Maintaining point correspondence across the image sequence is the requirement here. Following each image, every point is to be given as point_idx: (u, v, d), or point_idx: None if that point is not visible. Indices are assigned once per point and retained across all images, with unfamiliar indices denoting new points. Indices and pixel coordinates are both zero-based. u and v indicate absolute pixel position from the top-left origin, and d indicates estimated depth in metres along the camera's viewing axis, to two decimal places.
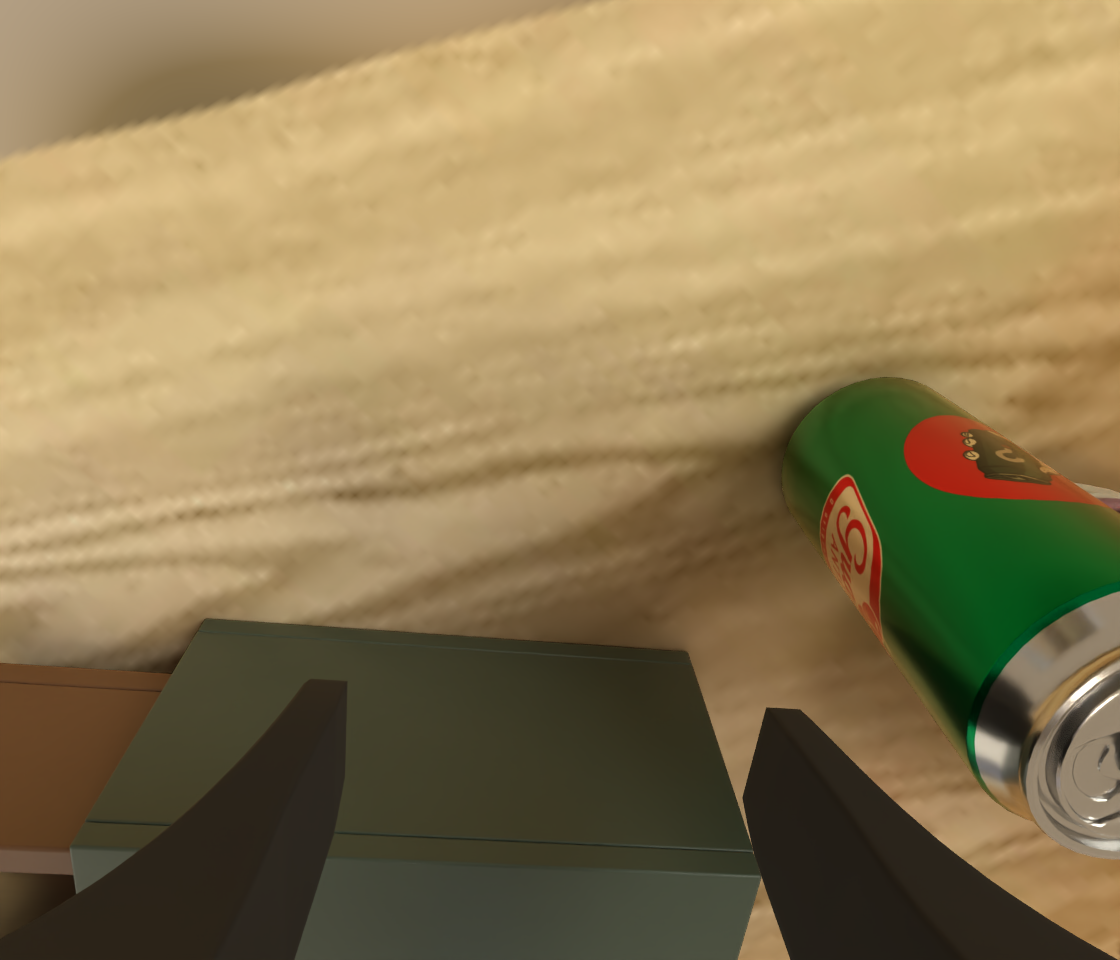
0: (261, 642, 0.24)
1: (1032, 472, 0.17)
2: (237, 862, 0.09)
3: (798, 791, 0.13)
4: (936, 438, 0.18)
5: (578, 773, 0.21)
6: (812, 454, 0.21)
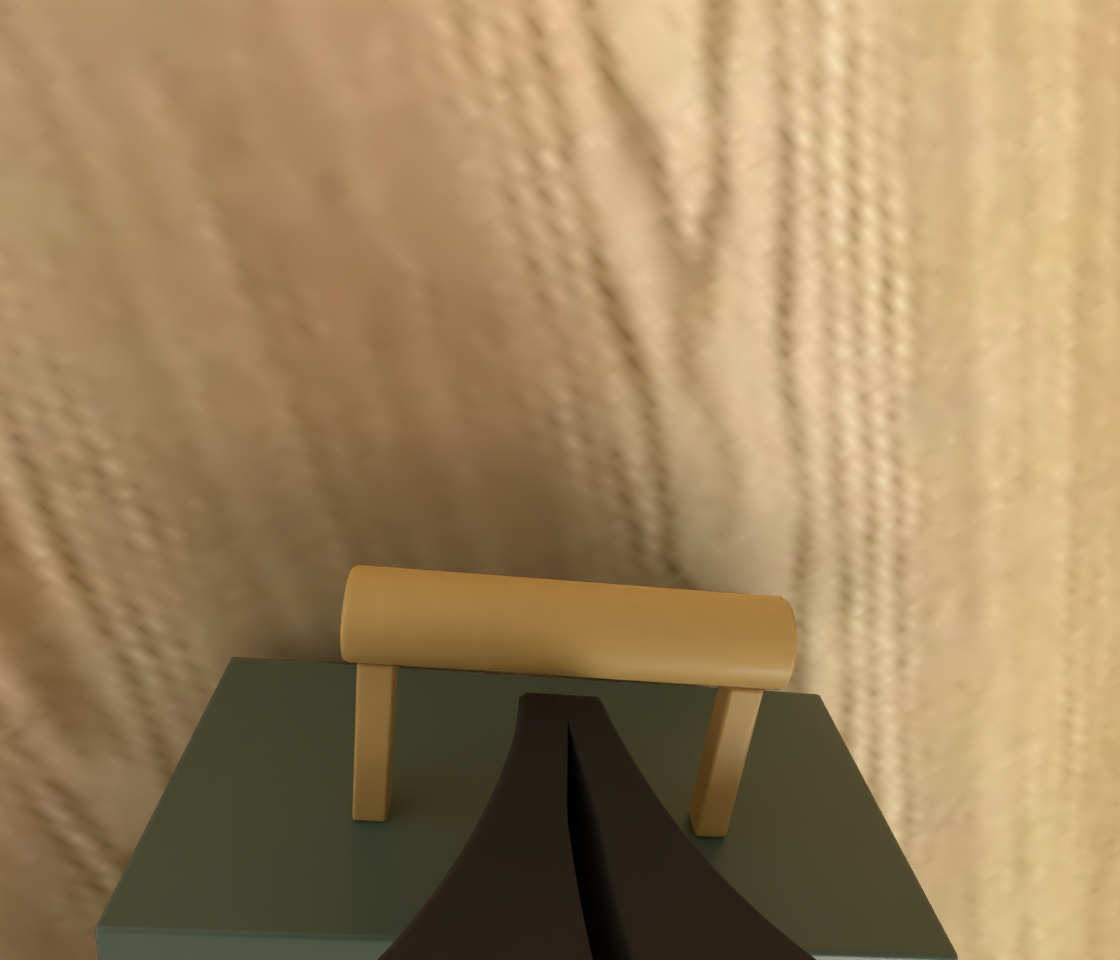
0: None
1: None
2: (554, 875, 0.10)
3: (570, 779, 0.13)
4: None
5: None
6: None
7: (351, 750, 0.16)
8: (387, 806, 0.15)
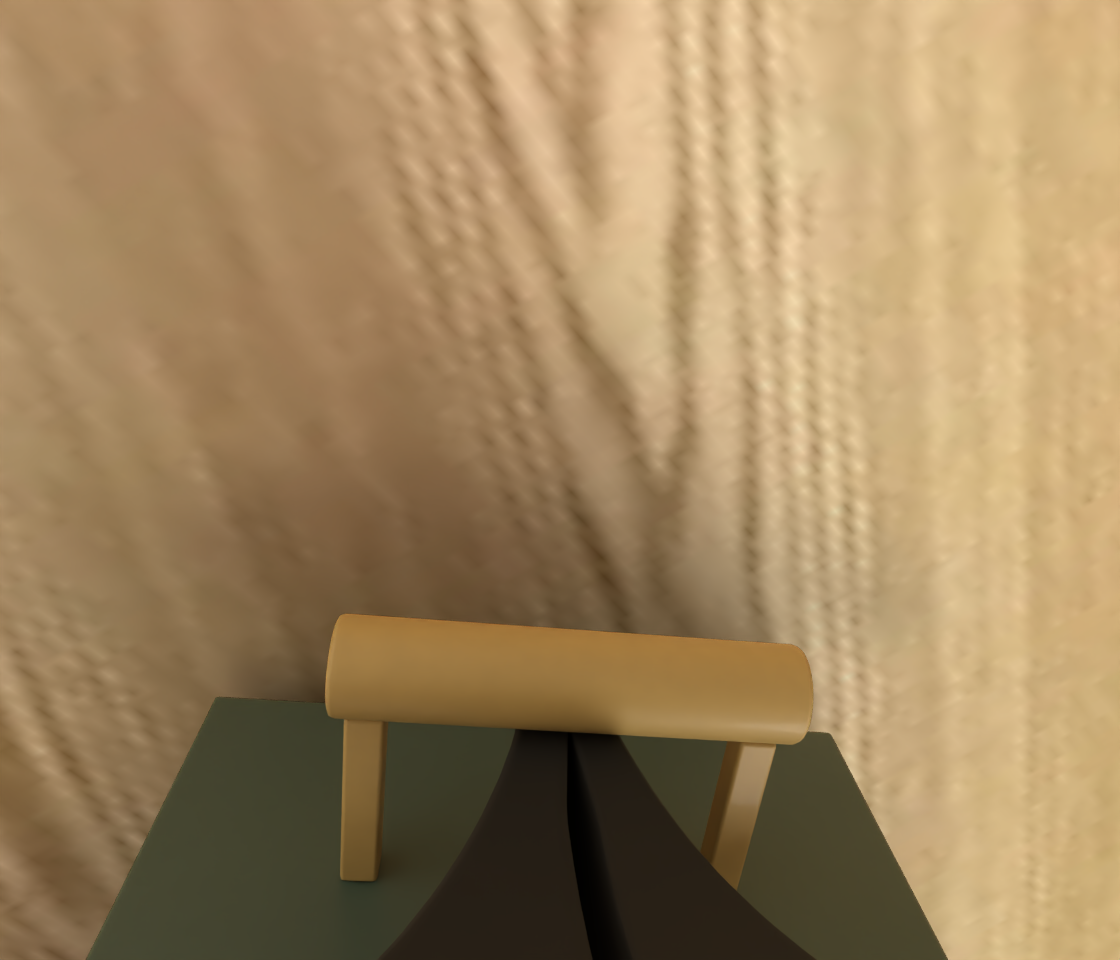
0: None
1: None
2: (554, 876, 0.10)
3: (571, 779, 0.13)
4: None
5: None
6: None
7: (340, 800, 0.15)
8: (377, 865, 0.14)
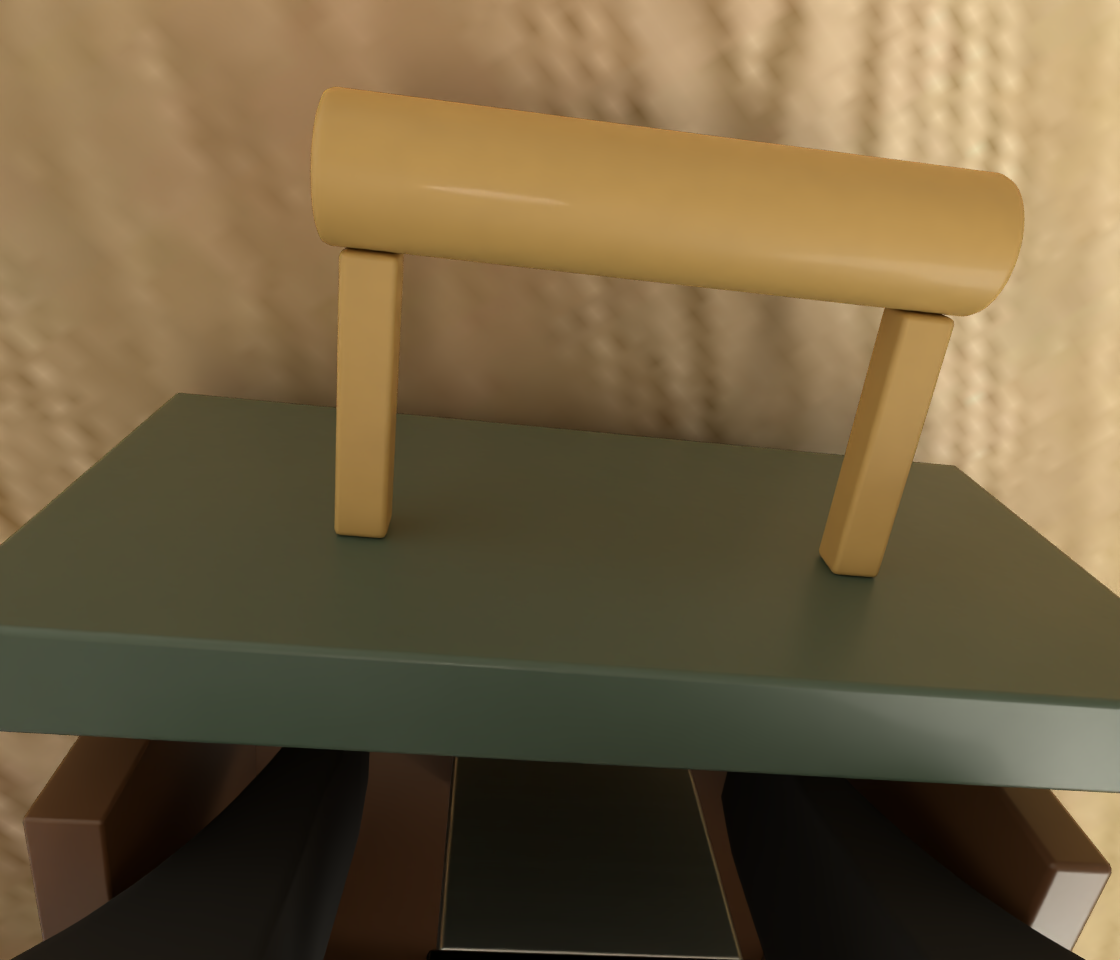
0: None
1: None
2: (274, 863, 0.09)
3: (773, 790, 0.13)
4: None
5: None
6: None
7: (335, 474, 0.11)
8: (386, 513, 0.10)
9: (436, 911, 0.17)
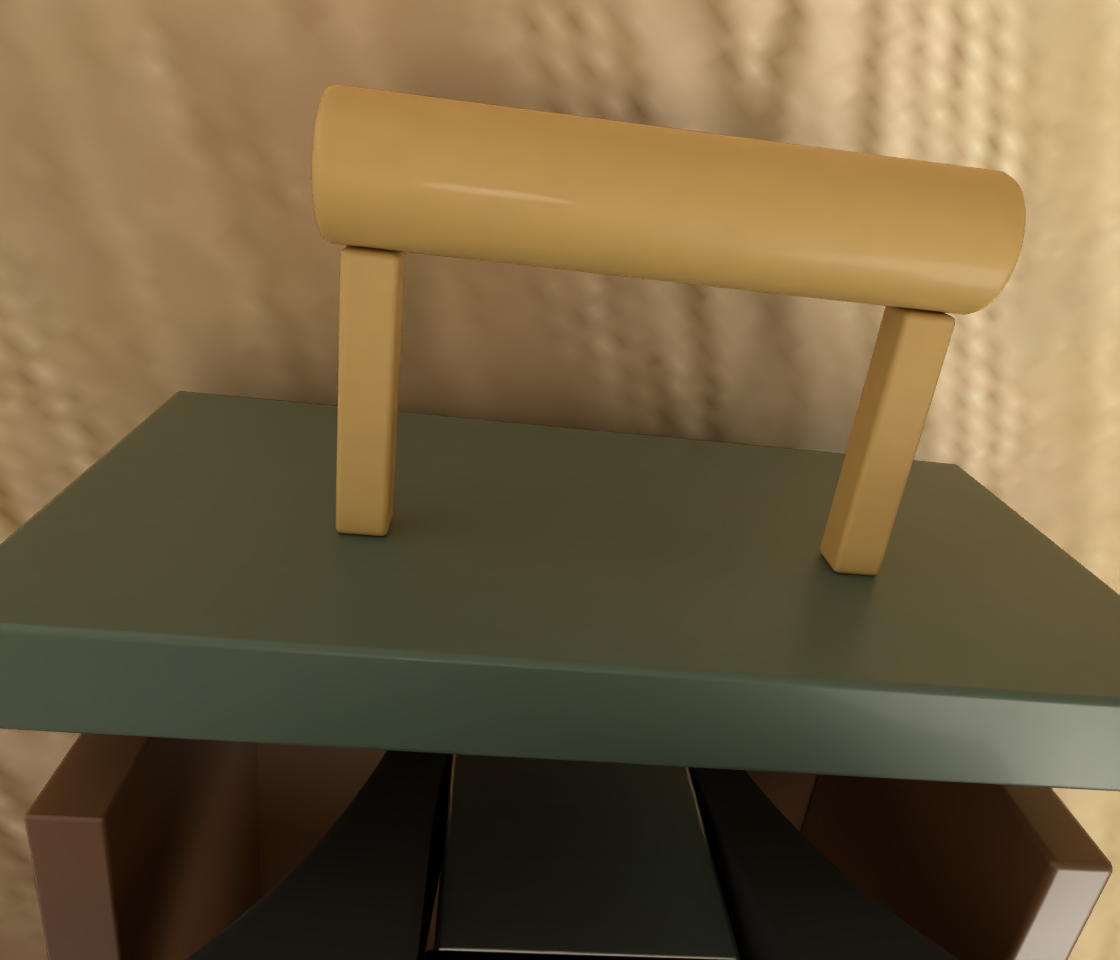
0: None
1: None
2: (404, 869, 0.09)
3: None
4: None
5: None
6: None
7: (336, 473, 0.11)
8: (387, 511, 0.10)
9: None
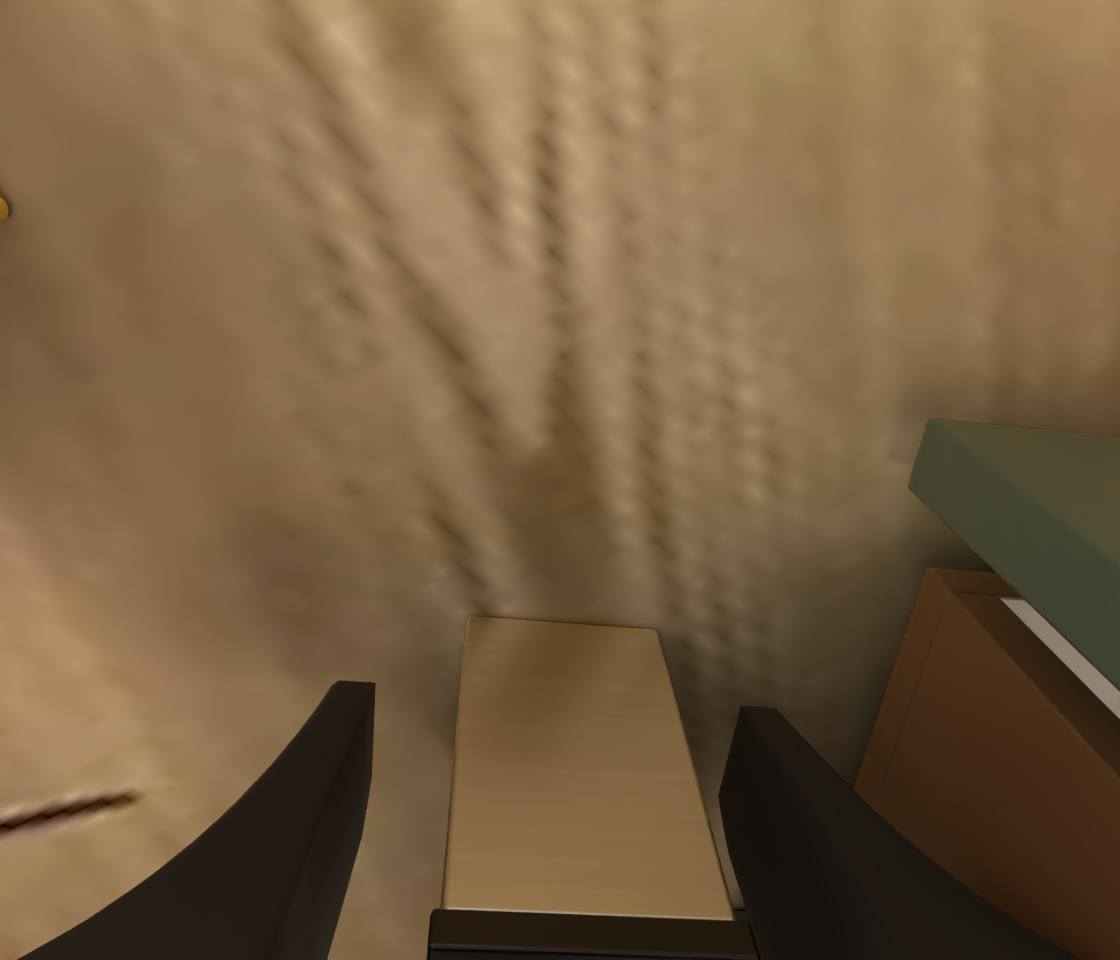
0: None
1: None
2: (279, 864, 0.09)
3: (770, 789, 0.13)
4: None
5: None
6: None
7: None
8: None
9: None
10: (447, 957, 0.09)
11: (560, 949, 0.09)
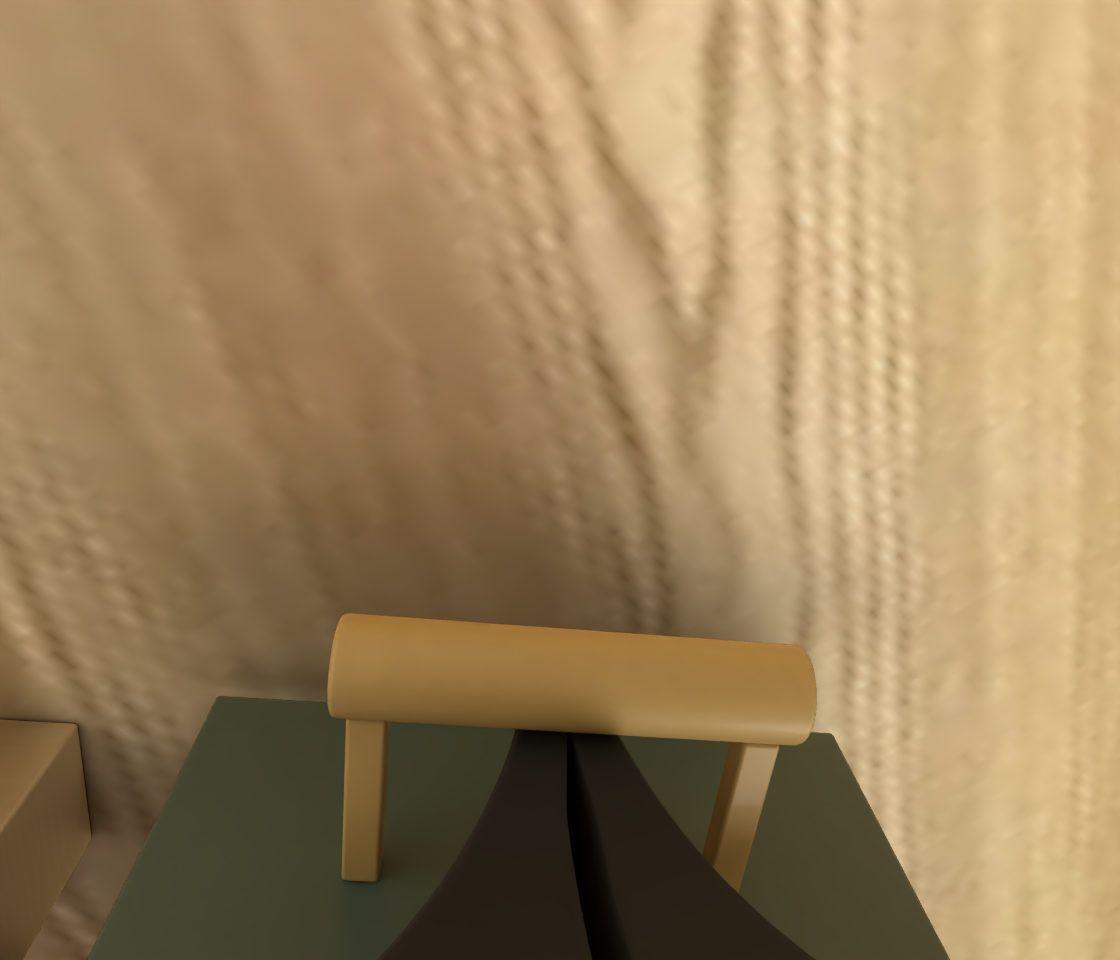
0: None
1: None
2: (554, 875, 0.10)
3: (570, 779, 0.13)
4: None
5: None
6: None
7: (341, 800, 0.15)
8: (378, 866, 0.14)
9: None
10: None
11: None
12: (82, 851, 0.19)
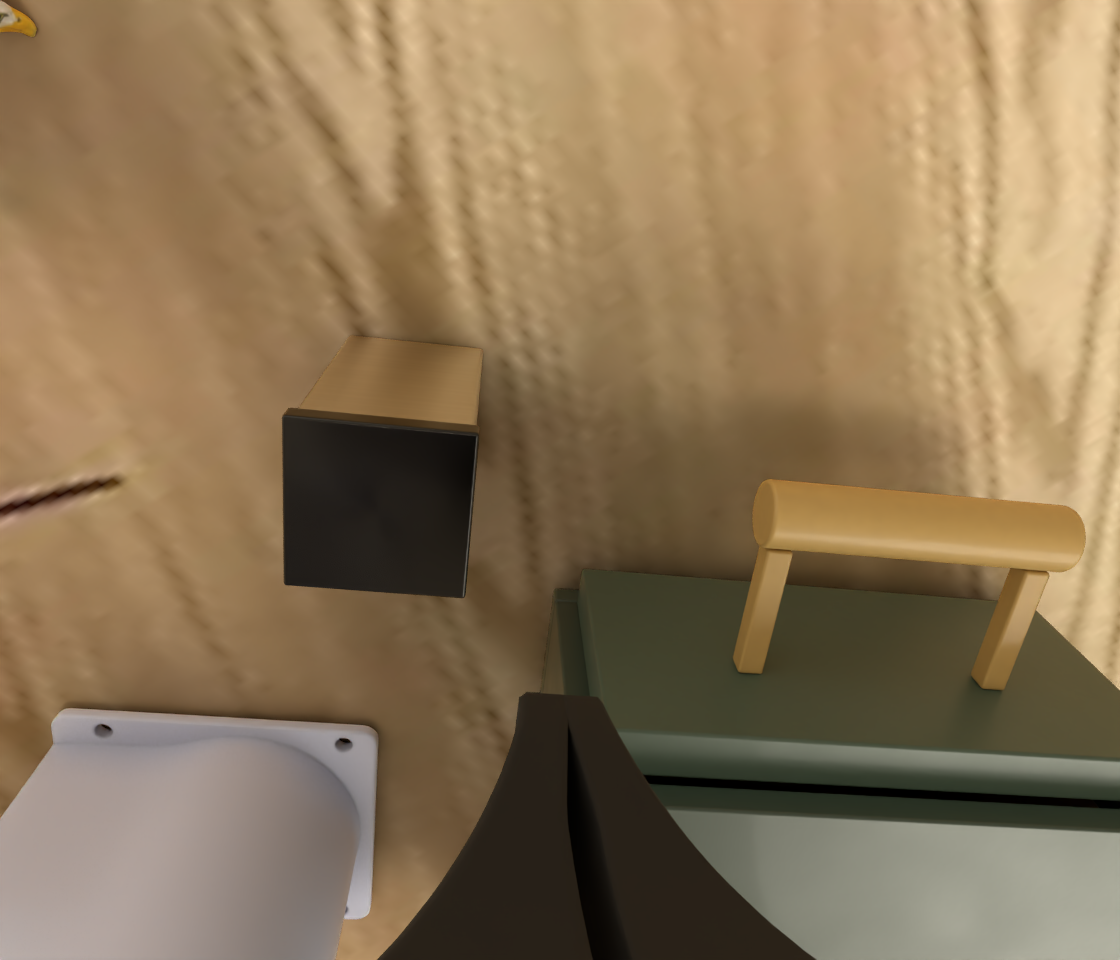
0: None
1: None
2: (554, 876, 0.10)
3: (570, 779, 0.13)
4: None
5: None
6: None
7: (709, 630, 0.21)
8: (764, 662, 0.20)
9: None
10: (293, 423, 0.16)
11: (359, 421, 0.16)
12: None
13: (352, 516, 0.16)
